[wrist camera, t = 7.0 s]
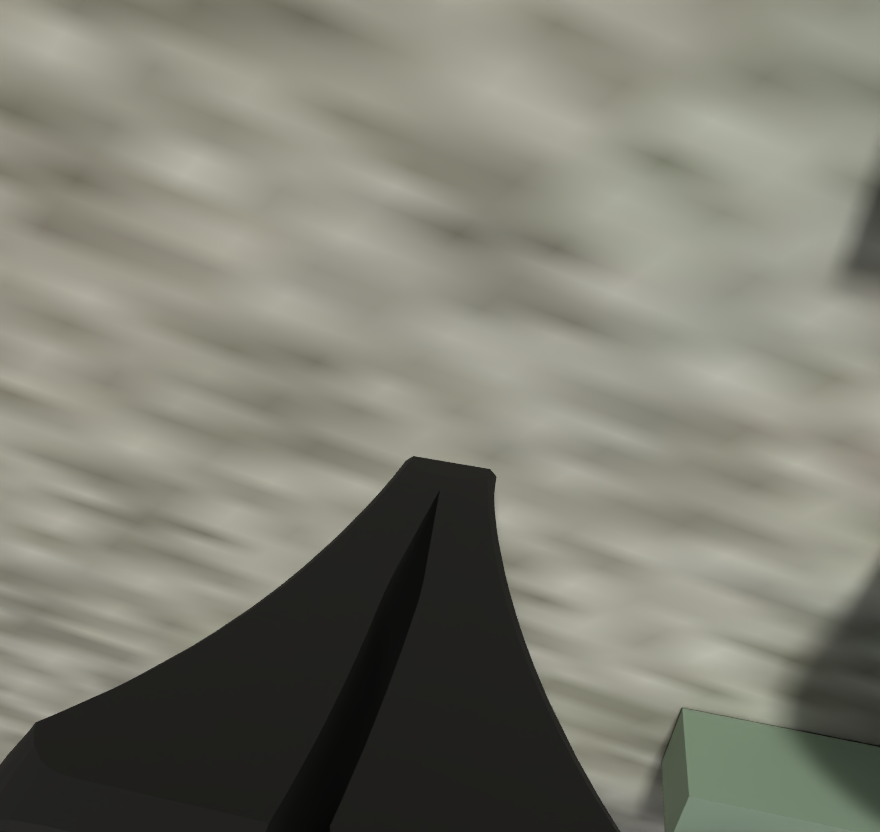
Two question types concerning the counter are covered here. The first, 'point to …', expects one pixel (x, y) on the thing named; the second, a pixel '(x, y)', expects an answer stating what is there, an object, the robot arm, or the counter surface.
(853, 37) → the counter surface
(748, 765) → the chute bay
